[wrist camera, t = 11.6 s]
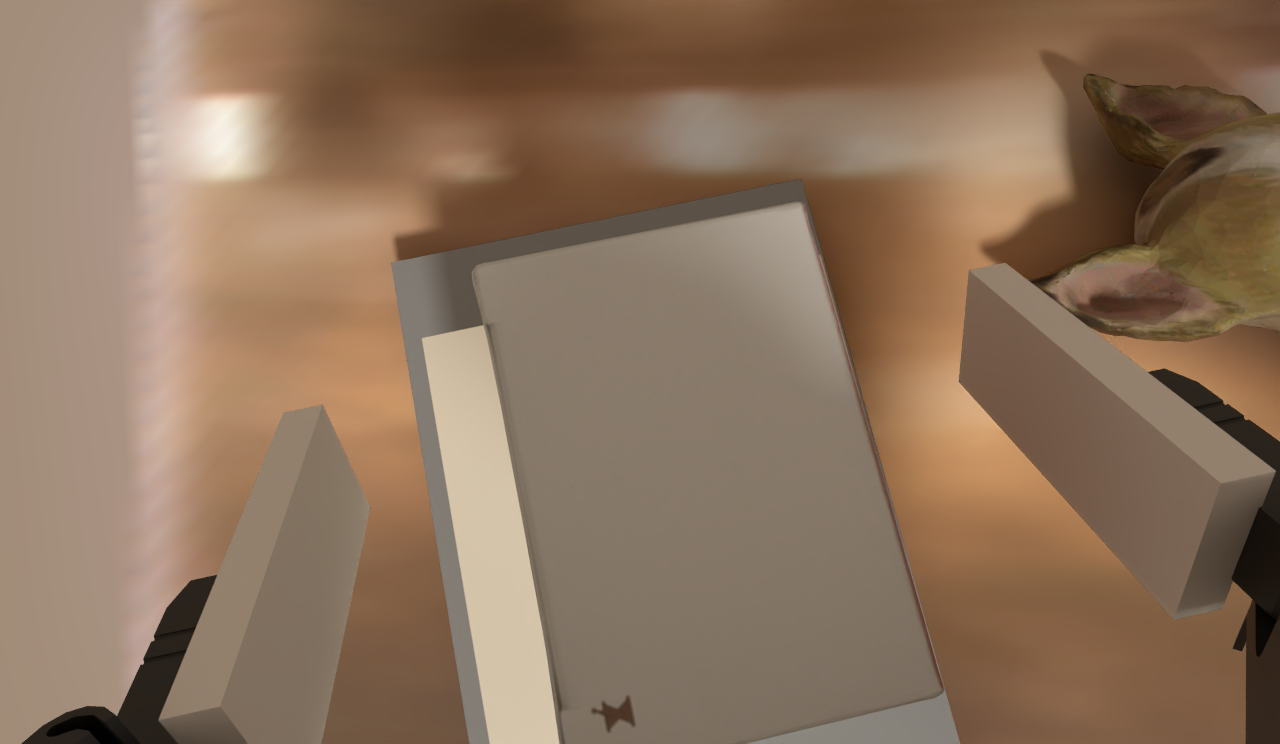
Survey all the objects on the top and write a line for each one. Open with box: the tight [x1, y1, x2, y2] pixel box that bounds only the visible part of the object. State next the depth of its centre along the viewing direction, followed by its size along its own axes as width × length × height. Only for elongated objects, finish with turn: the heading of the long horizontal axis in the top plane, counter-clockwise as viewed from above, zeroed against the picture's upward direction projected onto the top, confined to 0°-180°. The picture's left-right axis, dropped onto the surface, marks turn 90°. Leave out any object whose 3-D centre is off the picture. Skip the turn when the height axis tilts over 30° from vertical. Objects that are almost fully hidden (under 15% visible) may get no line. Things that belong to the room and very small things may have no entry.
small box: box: [472, 202, 944, 744], centre depth 17 cm, size 8×6×10 cm
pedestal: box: [391, 179, 960, 744], centre depth 26 cm, size 16×22×8 cm
